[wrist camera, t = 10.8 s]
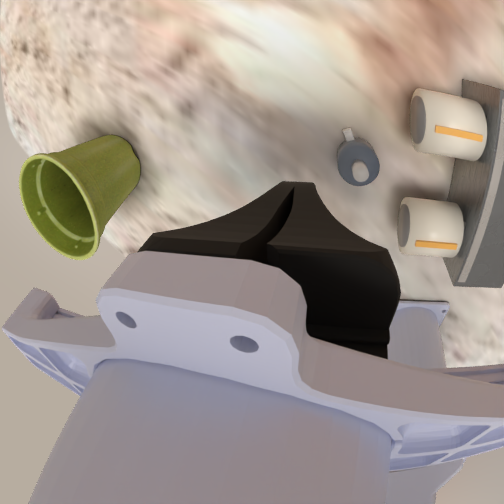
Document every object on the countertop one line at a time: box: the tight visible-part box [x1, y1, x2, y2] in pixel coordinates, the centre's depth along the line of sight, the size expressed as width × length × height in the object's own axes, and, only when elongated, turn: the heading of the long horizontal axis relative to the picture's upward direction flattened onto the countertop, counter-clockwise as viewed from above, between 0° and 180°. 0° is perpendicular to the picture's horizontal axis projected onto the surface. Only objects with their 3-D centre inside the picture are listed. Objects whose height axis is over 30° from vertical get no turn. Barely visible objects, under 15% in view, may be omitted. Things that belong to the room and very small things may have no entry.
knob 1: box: [410, 88, 487, 161], centre depth 12 cm, size 4×11×4 cm, turn 96°
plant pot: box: [19, 135, 140, 260], centre depth 21 cm, size 9×9×9 cm
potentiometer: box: [337, 127, 380, 186], centre depth 17 cm, size 4×3×4 cm
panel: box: [443, 79, 504, 288], centre depth 14 cm, size 14×5×6 cm, turn 6°
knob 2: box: [397, 197, 466, 258], centre depth 17 cm, size 4×11×4 cm, turn 96°
